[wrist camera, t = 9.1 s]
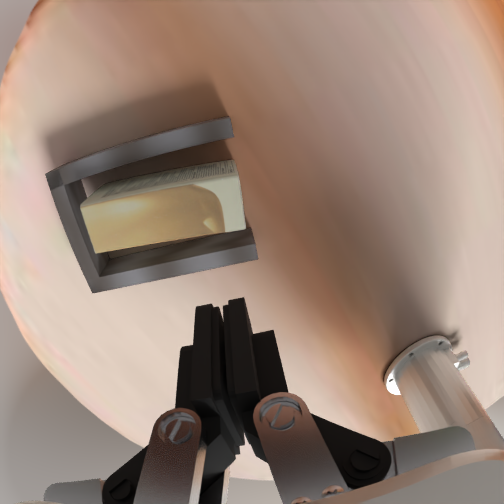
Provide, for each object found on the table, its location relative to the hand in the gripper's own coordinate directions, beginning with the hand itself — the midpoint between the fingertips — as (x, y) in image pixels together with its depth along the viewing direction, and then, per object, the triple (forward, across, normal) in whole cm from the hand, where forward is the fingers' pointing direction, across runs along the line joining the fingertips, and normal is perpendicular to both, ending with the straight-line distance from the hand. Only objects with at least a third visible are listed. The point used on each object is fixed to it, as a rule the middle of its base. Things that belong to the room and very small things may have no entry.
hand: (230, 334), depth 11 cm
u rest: (+19, +6, 0) cm, 20 cm away
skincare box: (+16, -2, 0) cm, 16 cm away
